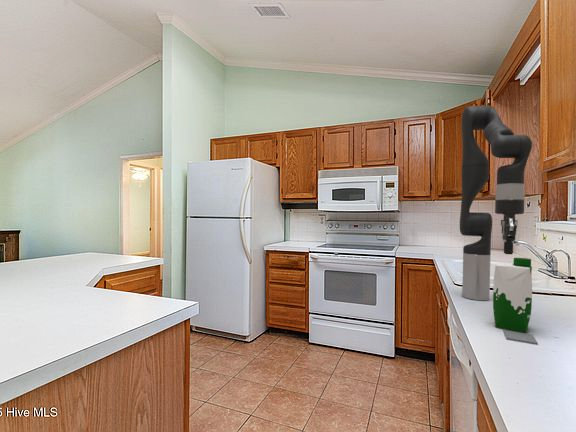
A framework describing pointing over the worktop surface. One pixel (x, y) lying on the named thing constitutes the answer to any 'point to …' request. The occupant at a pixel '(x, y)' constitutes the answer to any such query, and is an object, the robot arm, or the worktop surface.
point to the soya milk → (513, 295)
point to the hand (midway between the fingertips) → (508, 254)
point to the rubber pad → (520, 337)
